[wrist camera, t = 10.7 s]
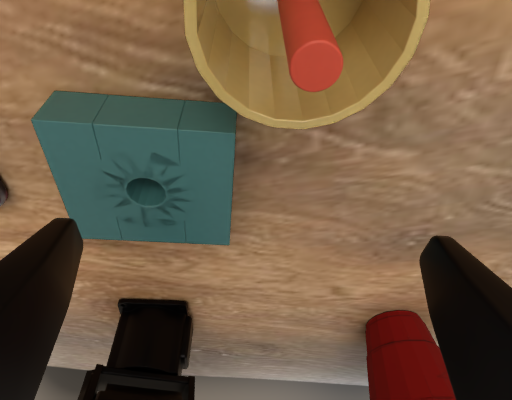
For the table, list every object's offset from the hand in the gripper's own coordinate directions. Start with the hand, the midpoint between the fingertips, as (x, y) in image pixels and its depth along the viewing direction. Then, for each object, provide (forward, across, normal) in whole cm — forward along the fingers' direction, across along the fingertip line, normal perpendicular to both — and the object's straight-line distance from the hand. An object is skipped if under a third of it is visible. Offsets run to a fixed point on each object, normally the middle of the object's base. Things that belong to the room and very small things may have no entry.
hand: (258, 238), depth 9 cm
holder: (+13, +6, +8) cm, 16 cm away
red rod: (+12, -1, -3) cm, 13 cm away
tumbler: (+12, -1, -3) cm, 13 cm away
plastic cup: (+13, -17, +28) cm, 35 cm away
